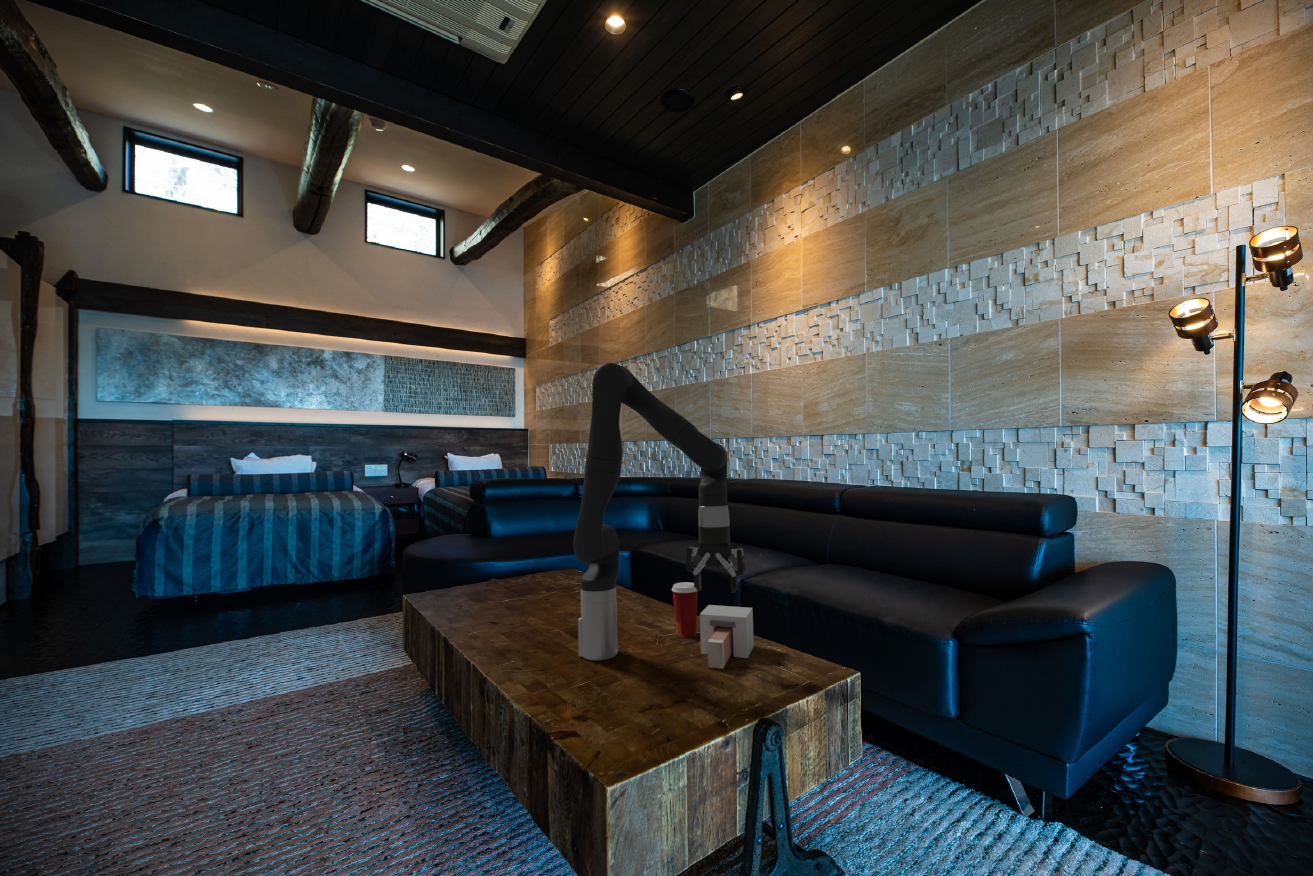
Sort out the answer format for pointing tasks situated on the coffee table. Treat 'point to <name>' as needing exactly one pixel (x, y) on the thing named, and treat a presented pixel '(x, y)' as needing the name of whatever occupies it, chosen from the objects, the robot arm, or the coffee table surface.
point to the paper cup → (685, 609)
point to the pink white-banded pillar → (720, 647)
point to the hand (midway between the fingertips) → (716, 590)
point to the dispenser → (728, 618)
